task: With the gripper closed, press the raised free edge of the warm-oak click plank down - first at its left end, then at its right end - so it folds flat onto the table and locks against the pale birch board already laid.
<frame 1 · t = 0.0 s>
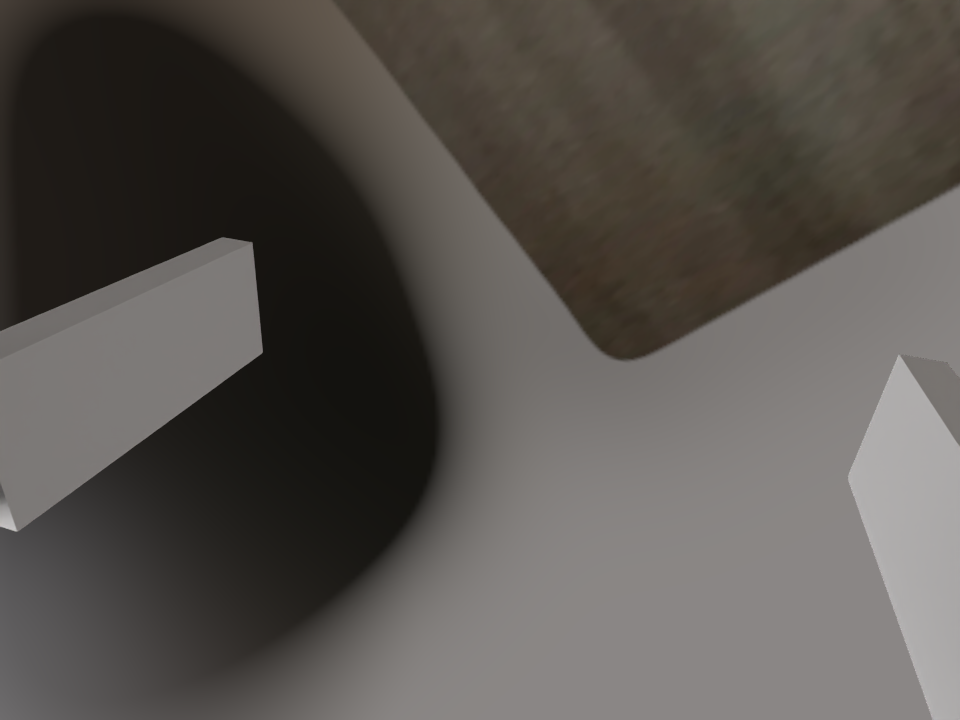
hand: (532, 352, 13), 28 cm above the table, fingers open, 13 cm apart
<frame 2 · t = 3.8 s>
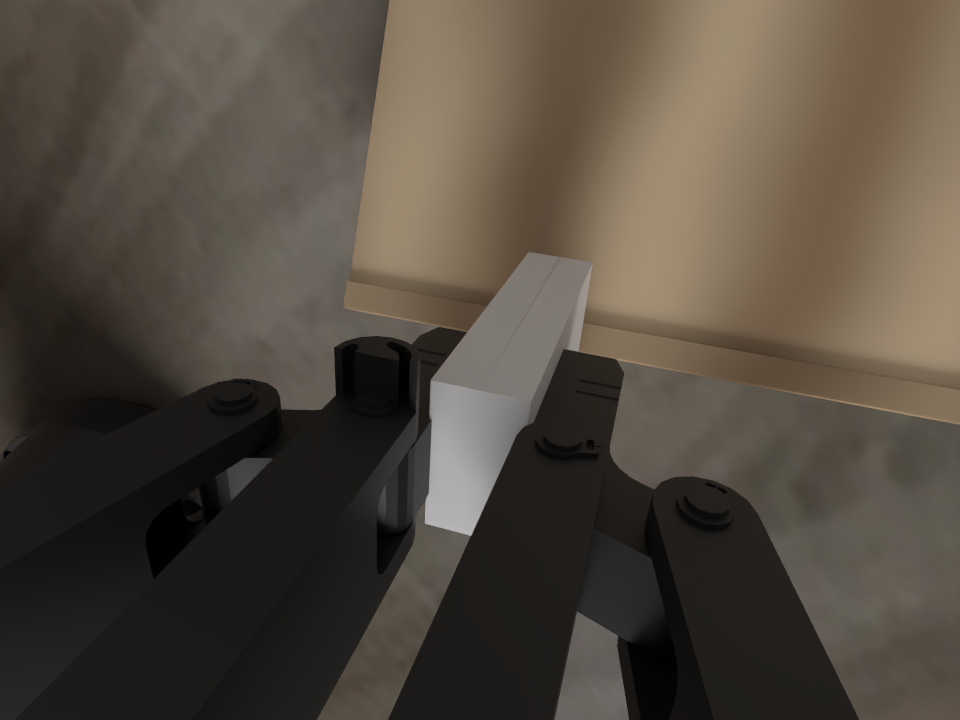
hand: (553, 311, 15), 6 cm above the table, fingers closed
plank: (795, 185, 15), point 3 cm above the table, hinge at 21.9°, touching gripper
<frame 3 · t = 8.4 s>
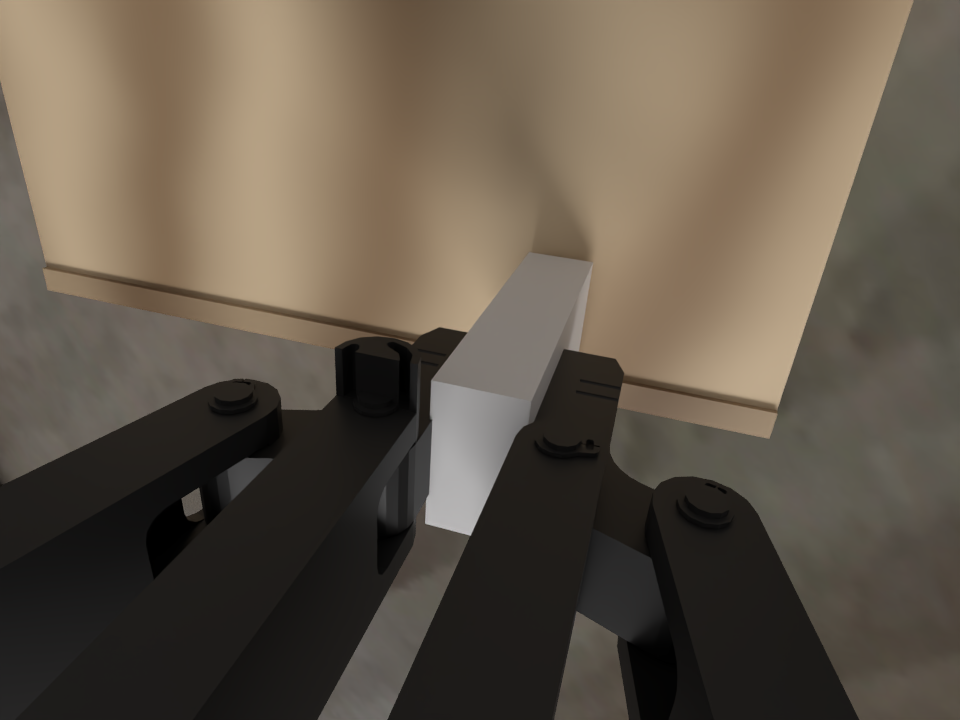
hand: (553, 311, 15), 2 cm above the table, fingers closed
plank: (373, 173, 16), point 1 cm above the table, hinge at 0.1°, touching gripper
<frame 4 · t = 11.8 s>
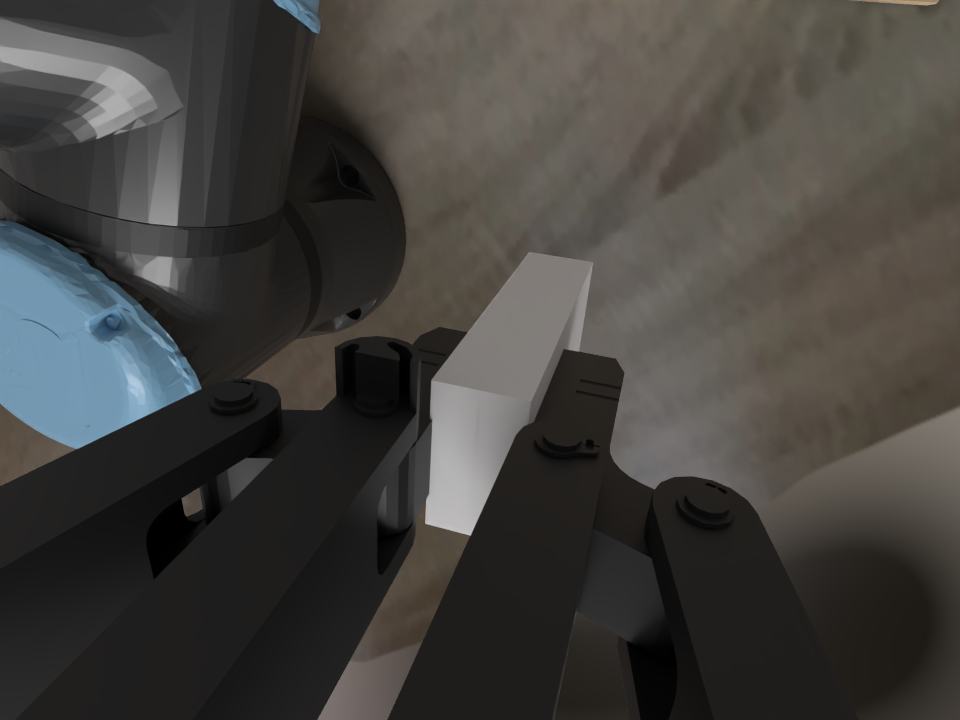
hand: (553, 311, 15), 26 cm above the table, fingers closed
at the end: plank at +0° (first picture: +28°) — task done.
